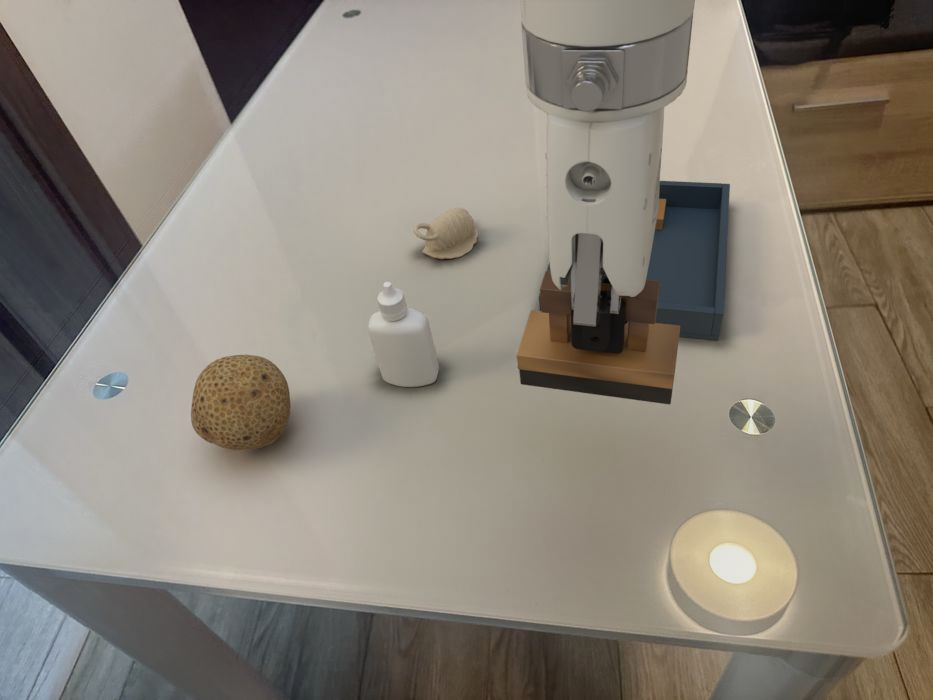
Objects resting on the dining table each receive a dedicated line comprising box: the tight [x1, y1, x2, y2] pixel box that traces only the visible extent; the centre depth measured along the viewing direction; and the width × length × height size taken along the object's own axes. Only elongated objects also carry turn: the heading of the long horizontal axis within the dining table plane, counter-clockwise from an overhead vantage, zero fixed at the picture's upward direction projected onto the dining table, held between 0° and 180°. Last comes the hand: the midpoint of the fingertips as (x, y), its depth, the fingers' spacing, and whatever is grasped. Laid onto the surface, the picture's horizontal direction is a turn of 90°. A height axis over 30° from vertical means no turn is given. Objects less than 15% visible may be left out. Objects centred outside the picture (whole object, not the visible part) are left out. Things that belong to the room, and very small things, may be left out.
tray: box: [538, 180, 731, 341], centre depth 77 cm, size 18×22×4 cm
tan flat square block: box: [655, 199, 666, 230], centre depth 82 cm, size 4×4×2 cm
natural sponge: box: [190, 354, 292, 452], centre depth 64 cm, size 9×9×10 cm
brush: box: [516, 270, 680, 406], centre depth 46 cm, size 10×4×8 cm, turn 74°
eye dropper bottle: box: [367, 281, 440, 388], centre depth 67 cm, size 4×6×12 cm
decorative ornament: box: [413, 207, 479, 260], centre depth 82 cm, size 4×8×5 cm, turn 122°
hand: (600, 332), depth 46 cm, fingers closed on brush, 2 cm apart
